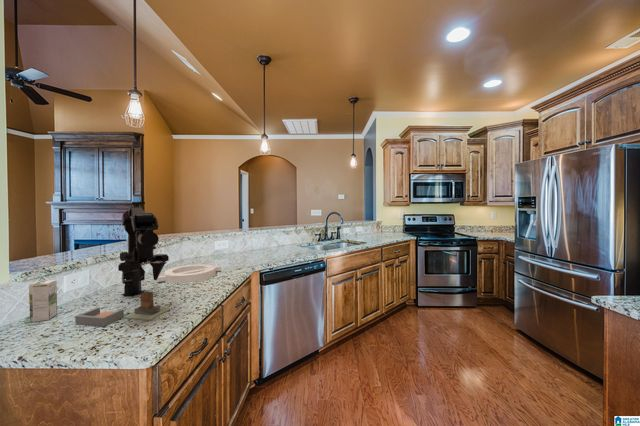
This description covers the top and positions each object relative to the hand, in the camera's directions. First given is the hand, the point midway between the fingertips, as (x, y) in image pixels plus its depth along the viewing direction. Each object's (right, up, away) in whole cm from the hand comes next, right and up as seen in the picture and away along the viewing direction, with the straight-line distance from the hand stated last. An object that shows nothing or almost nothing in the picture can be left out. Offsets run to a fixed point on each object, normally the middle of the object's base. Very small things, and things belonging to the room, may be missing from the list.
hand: (146, 283), depth 106 cm
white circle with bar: (-9, -11, +55) cm, 57 cm away
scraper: (0, -12, +1) cm, 12 cm away
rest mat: (0, -12, +1) cm, 12 cm away
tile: (-14, -13, -4) cm, 19 cm away
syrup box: (-38, -13, -2) cm, 40 cm away
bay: (-14, -13, -5) cm, 20 cm away
